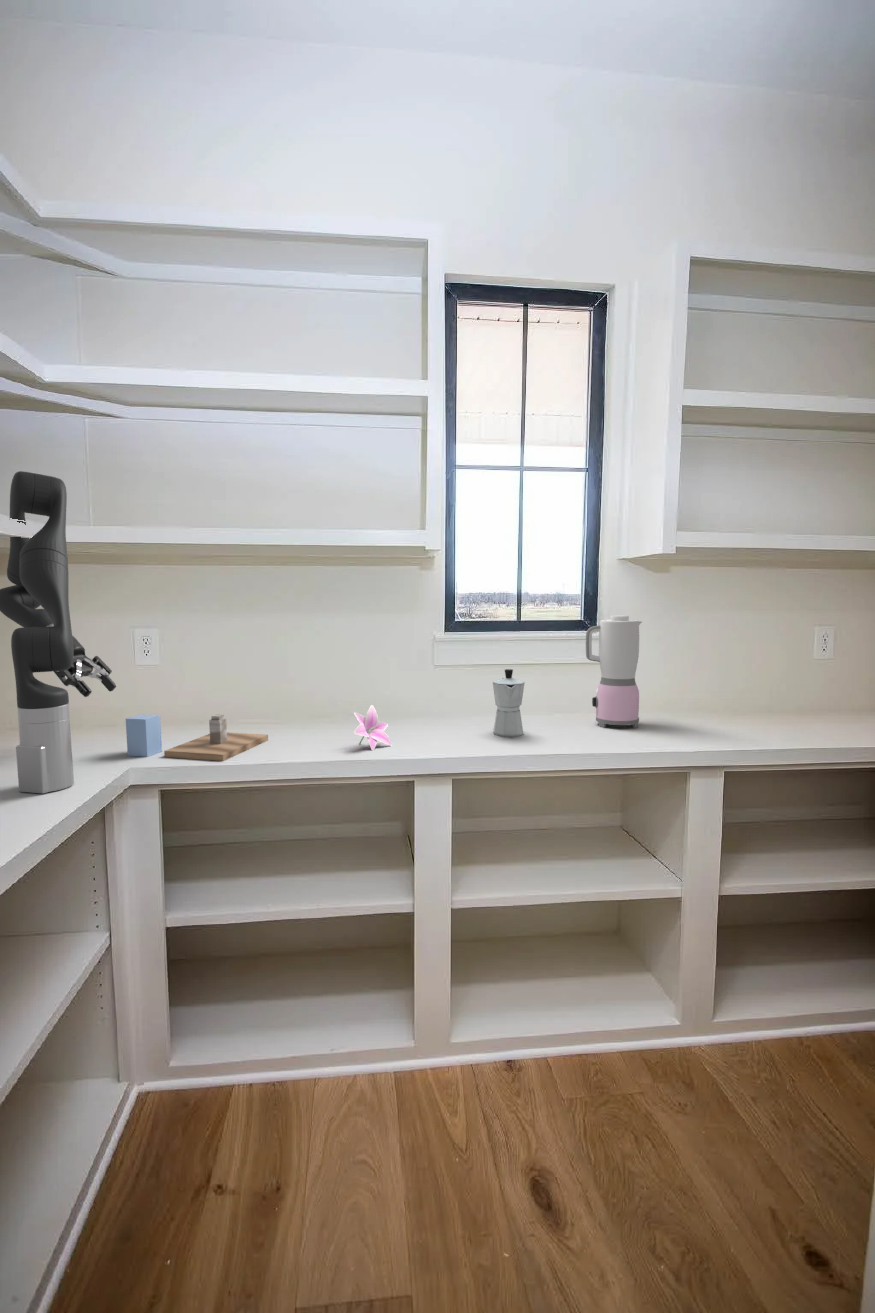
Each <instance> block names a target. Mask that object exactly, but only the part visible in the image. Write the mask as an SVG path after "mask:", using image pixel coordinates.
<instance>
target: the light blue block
mask: <svg viewBox="0 0 875 1313" xmlns="http://www.w3.org/2000/svg"><path fill="white" fill-rule="evenodd" d="M161 722H162V721H161V715H160V714H147V713H146V714H144V713H140V714H137V715H133V716H130V717H127V718H125V729H126V730H125V731H126V732H125V733H126V747H127V748H126V750H127V756H128V757H129V756H132V757H147V758H148V757H150V756H151V757H152V756H154V755H156V754H159V753H161V752H163V746H162V745H163V744H162V741H163V740H162V726H161V725H162V723H161Z"/></svg>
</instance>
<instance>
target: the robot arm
mask: <svg viewBox="0 0 875 1313" xmlns="http://www.w3.org/2000/svg"><path fill="white" fill-rule="evenodd" d="M11 479H12V480H11V483H10V490H9V519H10V518H12V519H18V520H24V521H26V522H23V521H17V522H19V523H20V522H22V523H24V524H25V525H26V523H27V520H26V515H25V514H31V515H39V516H43V517H44V516H45V517H48V519H47V521H46V523H45V524H44V525H43V527H42V528H40V530H38V531H37V532H36V533H35V534H33V537H32V538H30V539H29V538H21V537H10V536H9V542H10V543H9V554H8V560H7V568H6V577H7V579H8V580H9V582H11V583H12V584H14V585H11V586H6V587H2V588H0V612H1V614H2V615H4V617H7V618H8V619H9V620H11V621H13V622H14V623H16V624H17V625H19V626H20V627H18V628H15V629H14V630H13V632H12V634H11V639H10V644H11V645H10V646H11V649H10V650H11V655H12V656H11V657H12V662H13V670H14V671H13V672H14V678H15V679H14V680H15V689H16V690H15V691H16V703H17V704H16V706H17V721H18V724H17V725H18V734H19V735H18V737H19V744H18V745H17V744H16V746H15V753H16V766H17V779H18V780H17V781H18V792H21V793H31V794H46V793H49V792H55V791H61V790H64V789H67V788H69V787H72V786H73V785H74V784H75V779H74V778H75V777H74V764H73V763H74V760H73V748H72V747H73V745H72V729H71V717H70V716H71V715H70V703H69V702H70V700H69V692H68V690H67V689H65V688H63V687H60V686H55V685H51V684H47V683H44V682H43V681H41V680H39V679H37V678H36V677H35V676H34V673H50V672H53V673H54V674H55V675H56V677H57V678H58V679H59V680H60V681H61V683H62V685H64V686H65V687H69V686H72V687H73V688H75V689H76V690H77V691H78V692H79V693H80V694H81V695H82V696H83V697H84V698H87V697H89V696H90V695H91V694H92V691H93V690H92V689H91V688H90V687H89V686H88V685H87V683H86V682H85V681H84V680H83V679H82V677H89V678H91V679H96V680H99V681H100V682H101V684H102V685H103V686H104V687H105V688H106V689H107V691H109V692H113V691H114V690H115V689H116V688H117V684H116V683H115V682H114V681H113V680H112V678H111V677H110V674H112V673H113V672H112V669H111V668H110V667H109V666H108V665H107V664H106V663H105V662H104V661H103V660H102V659H101V658H100V657H99V656H98V655H95V656H94V657H93V658H89V657H88V656H87V655H86V649H85V647H84V645H82V644H81V643H80V641H79V640H78V639H77V638H76V637H75V636H74V635H73V630H72V623H71V614H70V605H69V604H70V602H69V560H68V557H69V556H68V550H67V548H68V547H67V535H66V534H67V532H66V530H67V529H66V527H67V526H66V525H67V502H68V501H67V494H68V493H67V487H66V484H65V482H64V481H63V479H61V478H58V477H55V476H52V475H46V474H41V473H40V474H39V473H35V472H29V471H23V470H22V471H20V470H19V471H17V472H15V473H14V475H13V476H12V478H11ZM39 607H42V608H39ZM93 670H94V671H93Z"/></svg>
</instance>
